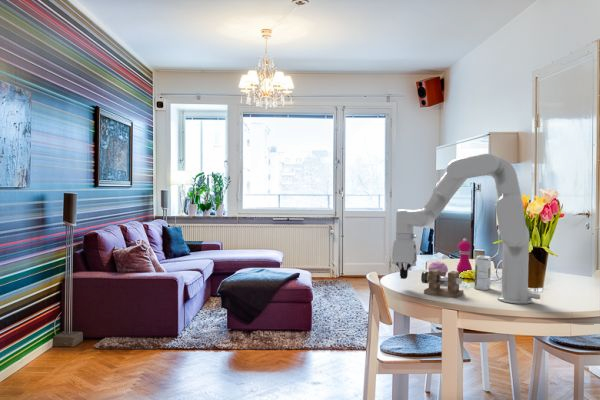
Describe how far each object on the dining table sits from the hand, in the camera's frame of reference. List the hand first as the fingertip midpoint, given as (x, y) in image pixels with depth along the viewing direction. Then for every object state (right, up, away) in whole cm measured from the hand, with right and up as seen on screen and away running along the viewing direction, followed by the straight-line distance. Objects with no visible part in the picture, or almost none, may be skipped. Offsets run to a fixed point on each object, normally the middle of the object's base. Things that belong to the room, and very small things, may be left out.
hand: (403, 278), depth 210 cm
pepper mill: (+37, -5, +28) cm, 47 cm away
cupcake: (+20, -5, +16) cm, 26 cm away
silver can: (+36, -5, +2) cm, 36 cm away
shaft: (+14, -1, -9) cm, 17 cm away
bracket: (+14, -5, -9) cm, 17 cm away
